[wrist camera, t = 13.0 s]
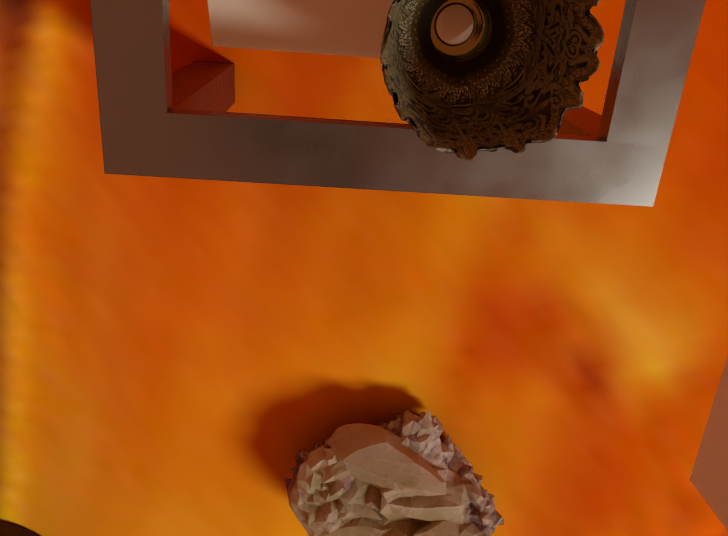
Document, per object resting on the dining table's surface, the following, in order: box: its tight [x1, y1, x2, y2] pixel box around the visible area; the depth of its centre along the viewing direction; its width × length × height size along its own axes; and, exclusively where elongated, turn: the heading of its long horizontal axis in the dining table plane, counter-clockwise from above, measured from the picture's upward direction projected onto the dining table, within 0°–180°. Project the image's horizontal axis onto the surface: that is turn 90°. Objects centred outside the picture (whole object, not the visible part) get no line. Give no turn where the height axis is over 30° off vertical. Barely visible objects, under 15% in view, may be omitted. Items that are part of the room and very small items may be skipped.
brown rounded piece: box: [380, 0, 604, 161], centre depth 25 cm, size 8×7×8 cm
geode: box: [284, 410, 504, 536], centre depth 51 cm, size 17×9×15 cm
